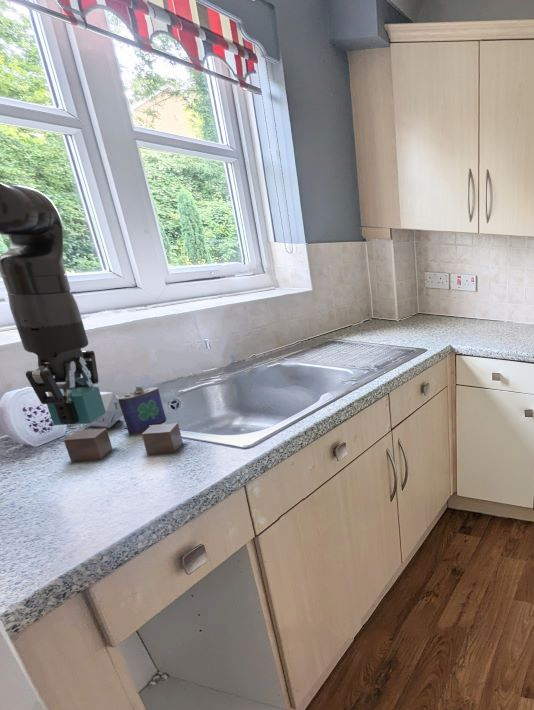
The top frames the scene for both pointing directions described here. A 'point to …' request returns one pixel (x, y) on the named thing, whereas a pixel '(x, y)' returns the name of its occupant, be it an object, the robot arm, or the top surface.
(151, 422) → the flask
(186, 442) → the top surface
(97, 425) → the die
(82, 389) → the teal block
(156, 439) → the block
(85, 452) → the block
